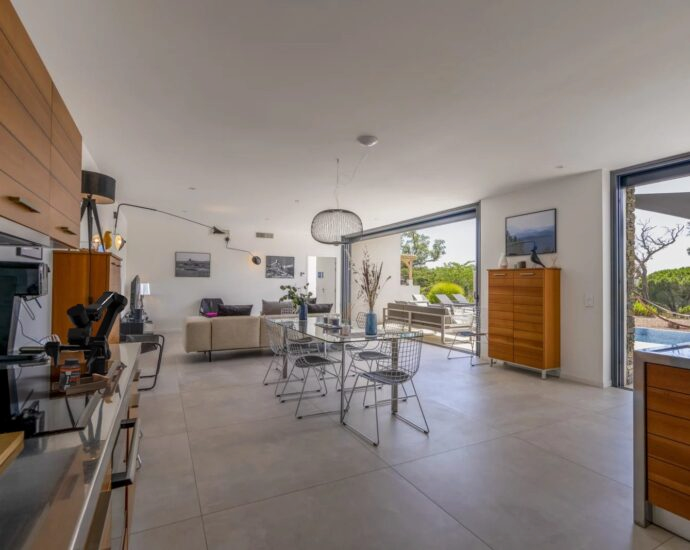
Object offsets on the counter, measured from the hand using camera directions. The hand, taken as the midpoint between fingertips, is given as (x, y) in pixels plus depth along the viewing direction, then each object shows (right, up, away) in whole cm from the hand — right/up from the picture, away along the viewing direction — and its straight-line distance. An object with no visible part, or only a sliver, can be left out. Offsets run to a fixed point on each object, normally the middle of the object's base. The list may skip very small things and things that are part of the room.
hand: (70, 367), depth 132 cm
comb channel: (+2, -9, +2) cm, 9 cm away
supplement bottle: (0, -9, -1) cm, 9 cm away
